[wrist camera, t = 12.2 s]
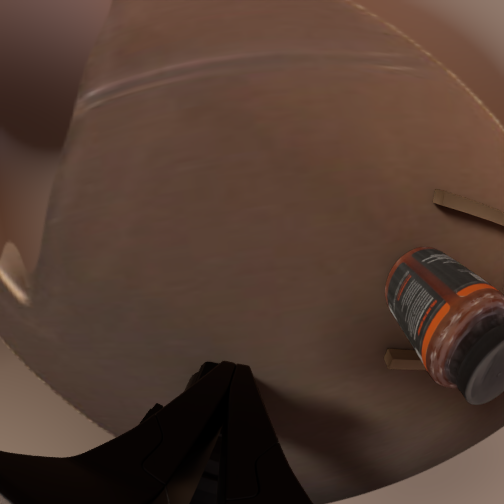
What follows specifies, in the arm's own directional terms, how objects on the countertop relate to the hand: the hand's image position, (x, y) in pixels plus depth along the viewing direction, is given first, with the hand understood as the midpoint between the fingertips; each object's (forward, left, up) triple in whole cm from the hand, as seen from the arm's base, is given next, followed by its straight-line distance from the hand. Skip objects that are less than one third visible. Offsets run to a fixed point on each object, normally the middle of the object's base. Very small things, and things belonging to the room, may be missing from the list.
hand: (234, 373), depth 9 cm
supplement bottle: (0, -12, -12) cm, 17 cm away
